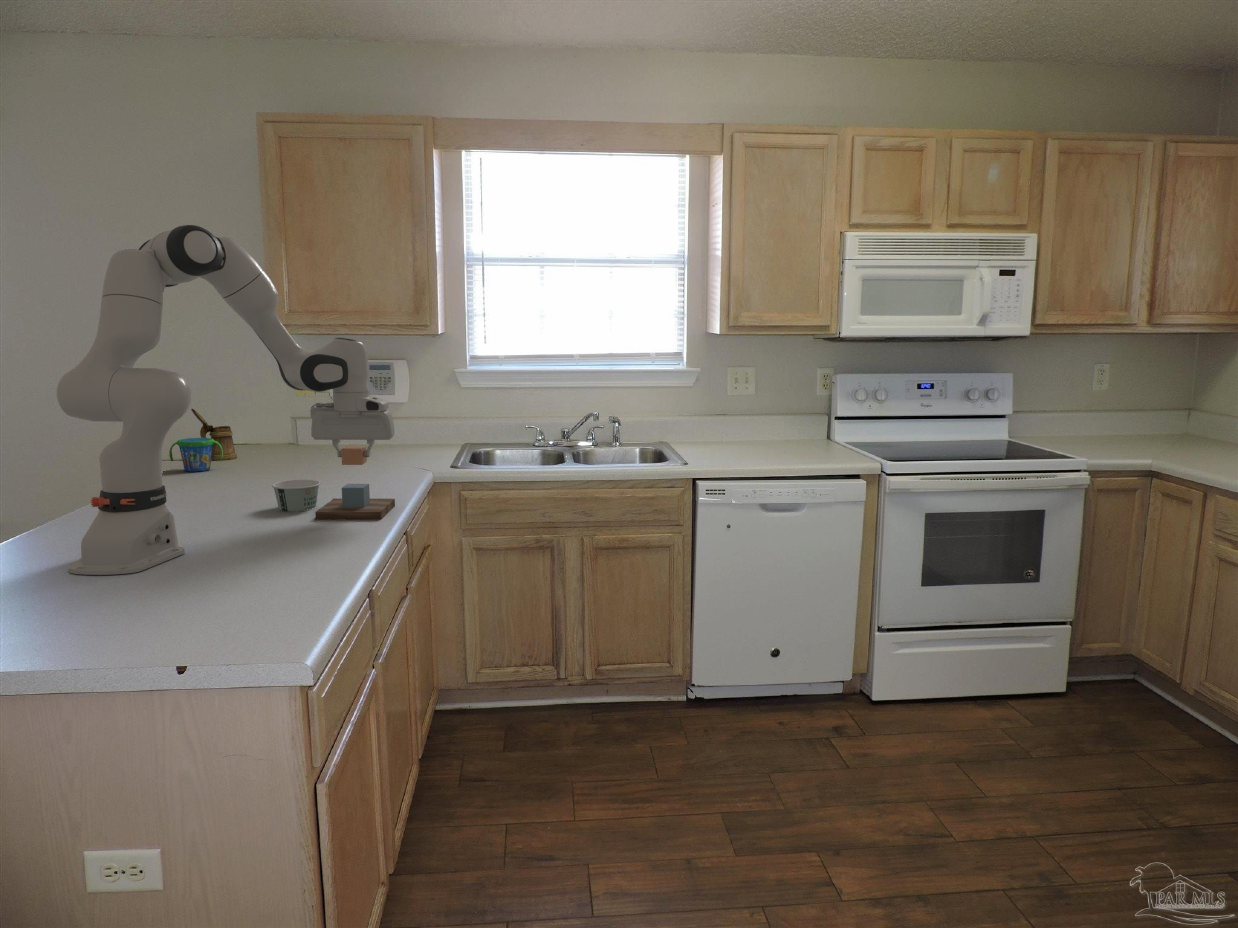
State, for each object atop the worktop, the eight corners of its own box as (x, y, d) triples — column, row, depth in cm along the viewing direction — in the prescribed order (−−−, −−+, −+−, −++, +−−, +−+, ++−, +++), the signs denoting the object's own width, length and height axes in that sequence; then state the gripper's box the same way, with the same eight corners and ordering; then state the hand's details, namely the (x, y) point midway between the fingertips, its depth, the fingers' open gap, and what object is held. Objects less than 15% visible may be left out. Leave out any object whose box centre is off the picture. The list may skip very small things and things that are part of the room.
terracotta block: (362, 464, 220) (361, 449, 219) (341, 464, 219) (341, 449, 219) (366, 461, 225) (366, 446, 224) (347, 461, 224) (346, 446, 224)
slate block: (364, 507, 221) (363, 487, 220) (342, 507, 221) (341, 487, 220) (369, 502, 226) (369, 483, 225) (348, 502, 226) (347, 483, 225)
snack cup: (226, 467, 290) (224, 436, 288) (220, 472, 279) (218, 441, 278) (175, 468, 286) (173, 437, 284) (167, 474, 276) (164, 442, 274)
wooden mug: (196, 457, 308) (192, 407, 305) (237, 456, 312) (234, 406, 309) (193, 461, 299) (189, 409, 297) (236, 459, 304) (233, 408, 301)
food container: (305, 514, 222) (304, 488, 221) (263, 511, 224) (261, 486, 223) (330, 504, 234) (329, 480, 233) (289, 502, 236) (288, 478, 235)
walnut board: (380, 519, 216) (380, 511, 216) (315, 519, 216) (315, 511, 215) (395, 505, 232) (394, 498, 232) (334, 505, 231) (334, 498, 231)
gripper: (305, 404, 216) (308, 459, 218) (389, 404, 217) (391, 459, 219) (313, 401, 222) (316, 455, 224) (394, 401, 223) (396, 455, 225)
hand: (354, 457), depth 222 cm, fingers closed on terracotta block, 5 cm apart
